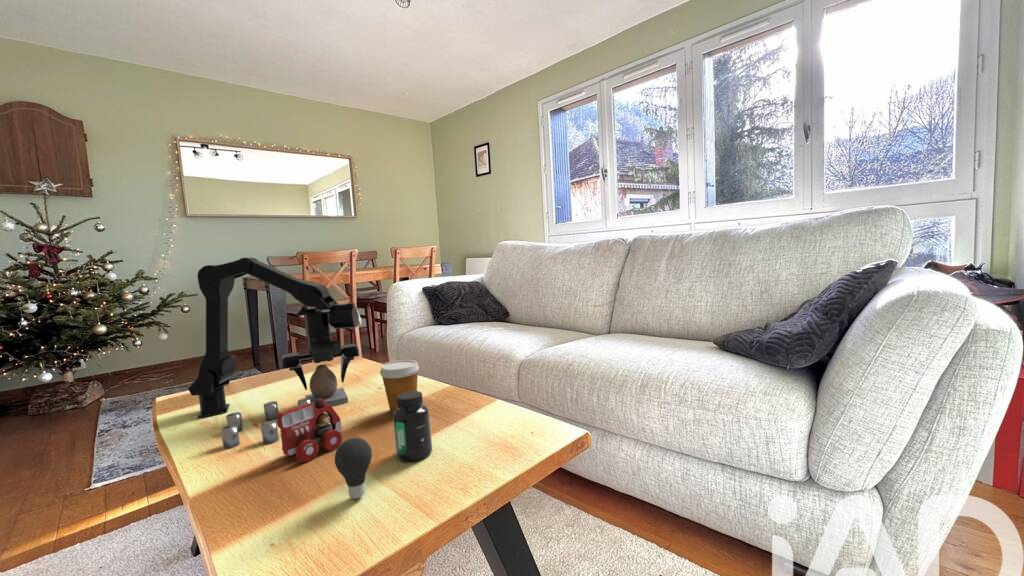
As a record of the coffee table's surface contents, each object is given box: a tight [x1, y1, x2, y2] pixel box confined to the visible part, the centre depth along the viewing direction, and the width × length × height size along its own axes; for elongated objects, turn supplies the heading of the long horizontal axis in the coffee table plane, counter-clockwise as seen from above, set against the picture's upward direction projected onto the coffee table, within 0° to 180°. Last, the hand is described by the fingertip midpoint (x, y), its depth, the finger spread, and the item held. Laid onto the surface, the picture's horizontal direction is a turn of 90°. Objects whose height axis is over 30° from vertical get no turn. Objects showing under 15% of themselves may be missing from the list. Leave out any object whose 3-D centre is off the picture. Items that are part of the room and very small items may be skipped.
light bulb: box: [334, 437, 373, 501], centre depth 67 cm, size 6×6×10 cm
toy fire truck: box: [276, 398, 343, 463], centre depth 84 cm, size 7×12×10 cm, turn 145°
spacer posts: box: [220, 397, 311, 450], centre depth 97 cm, size 18×18×4 cm
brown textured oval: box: [309, 363, 338, 399], centre depth 114 cm, size 7×7×9 cm
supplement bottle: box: [392, 390, 433, 463], centre depth 80 cm, size 7×7×12 cm
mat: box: [304, 387, 349, 407], centre depth 114 cm, size 10×10×2 cm
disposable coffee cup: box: [379, 359, 420, 416], centre depth 103 cm, size 10×10×12 cm
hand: (324, 385), depth 114 cm, fingers open, 9 cm apart
